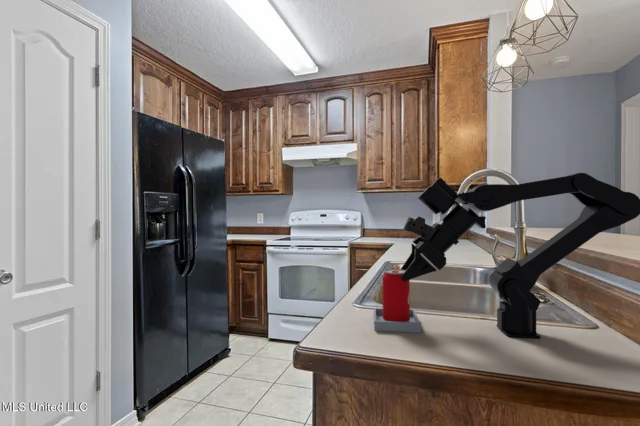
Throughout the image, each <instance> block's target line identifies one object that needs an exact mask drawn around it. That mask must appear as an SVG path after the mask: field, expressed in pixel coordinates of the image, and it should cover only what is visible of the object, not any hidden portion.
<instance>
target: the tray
mask: <svg viewBox="0 0 640 426" xmlns="http://www.w3.org/2000/svg"><path fill="white" fill-rule="evenodd" d="M421 324H422V323H421V321H420V319H419V317H418V315H417V313H416V310H415V309H411V308H410V320H409V321H408V322H398V321H385V320H384V319H383V307H382V308H379V307H374V308H373V326H374V327H373V328H374V331H376V332H378V331H379V332H395V333H396V332H398V333H399V332H400V333H416V334H418V333H420V334H421V332H422V331H421V330H422V329H421V327H422V326H421Z"/></svg>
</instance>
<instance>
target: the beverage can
mask: <svg viewBox="0 0 640 426" xmlns="http://www.w3.org/2000/svg"><path fill="white" fill-rule="evenodd" d="M405 271H406V270H401V268H400V269H399V268H390V269H389V268H388V269H385V270H384V273H383V274H382V308H383V319H384V320H385V321H398V322H408V321H409V320H410V309H411V305H410V304H411V303H410V301H411V300H410V299H411V298H410V294H411V292H410V280H407V281H403V280H402V279H401V277H402V275H403V274H404V272H405Z"/></svg>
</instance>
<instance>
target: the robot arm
mask: <svg viewBox="0 0 640 426" xmlns="http://www.w3.org/2000/svg"><path fill="white" fill-rule="evenodd" d="M564 194H569V195H572V196H573V197H574V198H575V199H576V200H577V201H578V202H579V203H580V204H581V205H583V206H584V207H583V208H582V210H581V212H580V215H579V216H578V218H577V219H575V220H574V221H573V222H571V223H570V224H568V225H567V226H566V227H565V228H563V229H561V230H560V232H558V233H556V234H555V235H554V236H552V237H551V238H549V239H548V240H547V241H545V242H544V243H542V244H541V245H540V246H538V247H537V248H536V249H535V250H533V251H532V252H530V253H528V254H527V255H526V256H524V257H523V258H521V259H518V260H514V259H512V258H510V257H507V258H506V259H505V260H503V261H502V262H501V264H499V265H497V266H495V267H493V268H492V269H493V271H492V272H491V273H490V276H489V285H490V287H491V289H493V291H495V292H496V293H497V294H498V297H499V299H500V301H499V308H498V307H497V308H496V318H497V319H496V322H497V323H496V327H497V328H498V329H499V330H500V331H501V332H502V333H503V334H504V335H506V336H507V337H515V338H516V337H517V338H533V339H534V338H536V339H540V338H541V334H539V333H538V332H537V310H538V309H539V306H540V304H541V300H540V299H539V298H538V296H536V295H535V294H534V293H533V292H532V291H531V290H532V289H533V288H534V287H535V285H536V283H537V281H538V279H539V278H540V276H541V275H543V274H544V273H545V272H546V271H548V270H549V269H551V268H552V267H554V265H556V264H558V263H559V262H560V261H562V260H564V258H566V257H567V256H569V255H570V254H572V253H573V252H574V251H576V250H577V249H578V248H580V247H582V246H584V244H586V243H587V242H589V241H590V240H591V239H592V238H594V237H595V236H597V235H599V234H600V233H602V232H605V231H607V230H610V229H614V228H617V227H620V226H622V225H624V224H626V223H628V222H630V221H633V220H634V219H636V218H638V217H639V216H640V198H639V196H638V195H637V194H635V193H633V192H630V191H623V190H622V189H620V188H618V187H617V186H615V185H612V184H609V183H606V182H604V181H601V180H598V179H597V178H595V177H593V176H592V175H590V174H588V173H586V172H578V173H577V172H576V173H571V174H568V175H566V176H559V177H554V178H548V179H542V180H536V181H531V182H523V183H518V184H502V183H501V184H499V183H498V184H495V183H494V184H490V183H489V184H481V185H479V186H476V187H473V188H471V189H470V190H469V191H467V192H464V191H461V192H458V193H457V192H456V191H455V190H454V189H453V188H452V187H451V186H449V185H448V184H447V182H446V181H445V180H444V179H443V178H442V177H439V178H437V179H436V181H434V182H433V183H432V184H431V185H429V186H428V187H427V188H426V189H424V190H423V192H422V193H421V194H420V195H419V196H418V197H417V199H418V200H419V201H420V202H421V203H422V204H423V205H424V206H425V207H427V208H428V209H429V211H431V212H432V213H433V214H434V215H438V214H441V215H442V216H443V215H444V214H446V213H447V212H448V211H449V212H448V213H447V214H446V215H445V216H444V217H443V218H441V220H440V221H438V222H435V223H433V224H432V225H429V224H427V223H426V218H424V217H422V216H416V217H415V218H413V217H411V216H408V218H407V220H406V221H405V224H404V226H403V230H405V231H406V232H409V233H410V232H411V233H414V234H416V235H418V236H416V237H415V238H414V239H413V240H412V243H411V252H410V254H409V256H408V257H407V259H406V261H404V263H403V265H402V266H401V268H400V269H401V270H406V271H405V272H404V274H403V275H402V277H401V279H402V280H403V281H407V280H409V281H410V280H413V279H416V278H418V277H419V278H420V277H421V276H424V275H428V274H429V273H433V272H437V271H438V270H439V271H441V270H442V269H443V268H444V267H445V266H446V265H447V257H446V254H445V253H446V252H448V251H449V249H451V248H452V247H453V246H454V245H455V246H456V245H457V244H459V242H460V241H459V240H460V239H461V238H462V237H464V235H466V234H467V232H469V231H470V230H471V229H472V227H474V226H475V225H476V226H477V227H478V228H479V229H483V230H484V229H486V227H487V226H486V219H487V218H486V216H485V215H480V216H479V214H477V212H489V211H493V210H495V209H496V210H497V209H499V208H501V207H506V206H508V205H510V204H514V203H516V202H520V201H526V200H532V199H540V198H544V197H551V196H558V195H564ZM462 205H467V206H469V207H468V208H464V207H463V206H462ZM453 206H454V208H453ZM450 209H451V210H450ZM475 211H476V212H475ZM501 300H502V301H501Z"/></svg>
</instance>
